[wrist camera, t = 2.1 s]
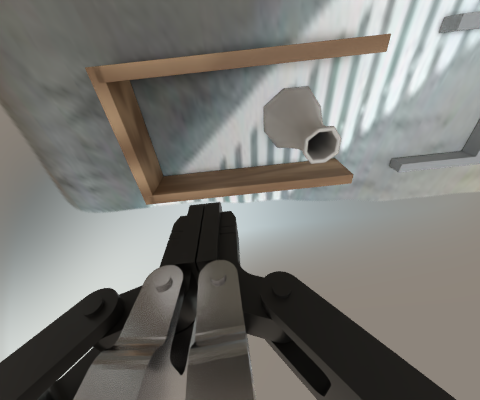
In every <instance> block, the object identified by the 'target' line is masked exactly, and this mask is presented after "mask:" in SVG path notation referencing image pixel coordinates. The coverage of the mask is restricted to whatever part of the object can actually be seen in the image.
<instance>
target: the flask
mask: <svg viewBox="0 0 480 400" xmlns="http://www.w3.org/2000/svg"><path fill="white" fill-rule="evenodd" d="M264 132H265V133H266V134H267V135H268V137H269V138H270V139H271V140H272V142H273V143H274V144H275V145H276V147H278V148H295V149H300V150H302V151H303V154H304V155H305V157H306V158H307V159H308V161H309V162H310V163H311V164H315V163H325V162H327V161H328V160H330V159H331V158H332V157H334V156H335V155H337V154H338V153H339V148H340V143H341V137H340V135H339V134H338V132H337V130H336V128H335V127H334V126H327V127H326V126H325V125H323V121H322V114H321V106H320V105H319V103H318V101H317V100H316V98H315V96H314V95H313V93H312V91H311V89H310V88H309V86H306V87H297V88H287V89H283V90H282V91H281V92H280V93H279V94H278V95H276V96H275V97H274V98H273V99H272V100H271V101H270V102H269V103H268V104H267V105H266V106H265V107H264Z"/></svg>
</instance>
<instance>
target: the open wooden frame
mask: <svg viewBox="0 0 480 400" xmlns="http://www.w3.org/2000/svg"><path fill="white" fill-rule="evenodd" d="M390 36H391V34H384V35H375V36H366V37H357V38H348V39H339V40H330V41H321V42H312V43H303V44H294V45H285V46H276V47H267V48H258V49H249V50H240V51H231V52H222V53H213V54H204V55H195V56H186V57H177V58H168V59H159V60H150V61H141V62H132V63H123V64H114V65H105V66H96V67H87V68H85V69H86V71H87V73H88V75H89V78H90V80H91V82H92V84H93V87H94V89H95V91H96V93H97V96H98V98H99V100H100V102H101V104H102V107H103V109H104V111H105V113H106V116H107V118H108V120H109V122H110V124H111V127H112V129H113V131H114V133H115V136H116V138H117V140H118V142H119V145H120V147H121V149H122V151H123V153H124V156H125V158H126V160H127V162H128V165H129V167H130V169H131V171H132V173H133V176H134V178H135V180H136V182H137V185H138V187H139V189H140V191H141V194H142V196H143V198H144V200H145V202H146V205H147V204H156V203H166V202H176V201H185V200H195V199H204V198H214V197H224V196H233V195H243V194H252V193H262V192H272V191H281V190H291V189H300V188H310V187H320V186H329V185H339V184H348V183H351V182H352V178H353V174H352V173H351V172H350V171H349V170H348V169H347V168H345V167H344V166H343V165H342V164H341V163H340V162H339V161H338V160H336V159H335V158H333V159H330V160H328V161H327V162H325V163H315V164H311V163H310V162H309V161H305V162H295V163H286V164H276V165H267V166H257V167H248V168H238V169H229V170H219V171H210V172H200V173H191V174H182V175H172V176H163V174H162V171H161V168H160V165H159V162H158V160H157V157H156V154H155V151H154V148H153V145H152V142H151V140H150V137H149V134H148V131H147V128H146V125H145V123H144V120H143V117H142V114H141V111H140V108H139V106H138V103H137V100H136V97H135V94H134V91H133V88H132V86H131V83H130V80H134V79H143V78H152V77H161V76H170V75H179V74H188V73H197V72H206V71H215V70H224V69H233V68H242V67H251V66H260V65H270V64H279V63H288V62H297V61H306V60H315V59H324V58H333V57H342V56H351V55H360V54H369V53H378V52H386V51H387V47H388V44H389V40H390Z"/></svg>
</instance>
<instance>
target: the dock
mask: <svg viewBox="0 0 480 400" xmlns="http://www.w3.org/2000/svg"><path fill="white" fill-rule="evenodd" d="M479 28H480V12H472V13H464V14H459V15H454V16H449V17H445V18H444V20H443V23H442V26H441V28H440V31H439V33H442V32H451V31H460V30H470V29H479ZM474 164H480V120H479V122H478V124H477V125H476V127H475V129H474V131H473V132H472V134H471V136H470V138H469V139H468V141H467V143H466V144H465V146H464V148H463V150H462V151H460V152H450V153H441V154H431V155H422V156H412V157H403V158H393V159H392V160H391V163H390V165H389V166H390V167H391V168H393V169H394V170H396V171H397V172H407V171H417V170H426V169H436V168H446V167H455V166H465V165H474Z"/></svg>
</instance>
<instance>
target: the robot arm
mask: <svg viewBox="0 0 480 400" xmlns="http://www.w3.org/2000/svg"><path fill="white" fill-rule="evenodd" d="M247 334H250V335H253V336H257V337H260V338H264V339H265V340H266V341H267V342H268V344H269V345H270V346H271V347H272V348H273V350H274V351H275V352H276V353H277V354H278V355H279V356H280V357H281V359H282V360H283V361H284V362H285V363H286V364H287V366H288V367H289V368H290V369H291V370H292V371H293V372H294V373H295V375H296V376H297V377H298V378H299V379H300V380H301V382H303V384H304V385H305V386H306V387H307V388H308V390H309V391H310V392H311V393H312V394H313V395H314V396H315V397H316V399H317V400H456V399H455V398H454V397H452V396H451V395H449V394H448V393H447V392H446V391H444V390H443V389H442V388H440V387H439V386H438V385H436V384H435V383H434V382H432V381H431V380H430V379H429V378H427V377H426V376H424V375H423V374H422V373H421V372H419V371H418V370H417V369H415V368H414V367H413V366H411V365H410V364H408V363H407V362H406V361H405V360H404V359H402V358H401V357H400V356H398V355H397V354H396V353H394V352H393V351H392V350H390V349H389V348H388V347H386V346H385V345H384V344H383V343H381V342H380V341H379V340H377V339H376V338H375V337H373V336H372V335H371V334H369V333H368V332H367V331H365V330H364V329H363V328H362V327H360V326H359V325H358V324H356V323H355V322H354V321H352V320H351V319H350V318H348V317H347V316H346V315H344V314H343V313H342V312H340V311H339V310H338V309H337V308H335V307H334V306H332V305H331V304H330V303H329V302H327V301H326V300H325V299H323V298H322V297H321V296H319V295H318V294H317V293H315V292H314V291H313V290H311V289H310V288H309V287H308V286H306V285H305V284H304V283H302V282H301V281H300V280H298V279H297V278H296V277H294V276H293V275H291V274H289V273H286V272H281V271H278V272H273V273H270V274H268V275H267V276H266V277H265V278H263V277H259V276H255V275H251V274H249V273H247V272H246V271H244V270H243V269H242V268H241V266H240V255H239V239H238V231H237V224H236V217H235V216H234V214H233V213H232V212H231V211H227V212H222V207H221V203H220V202H217V203H208V204H199V205H191V206H190V207H189V211H188V214H187V216H180V218H179V219H178V220H177V221H176V222H175V223H174V226H173V229H172V233H171V235H170V238H169V241H168V244H167V247H166V250H165V253H164V256H163V259H162V262H161V265H160V268H158V269H156V270H154V271H153V272H152V273H151V274H150V275H149V276H148V277H147V278H146V280H145V282H144V284H143V285H142V286H140V287H138V288H135V289H133V290H130V291H127V292H125V293H122V294H120V295H118V294H117V292H116V291H115V290H113V289H110V288H104V289H100V290H97V291H95V292H93V293H91V294H89V295H88V296H86V297H85V298H84V299H83V300H81V301H80V302H79V303H77V304H76V305H75V306H74V307H72V308H71V309H70V310H69V311H67V312H66V313H64V314H63V315H62V316H60V317H59V318H58V319H57V320H55V321H54V322H53V323H51V324H50V325H49V326H47V327H46V328H45V329H43V330H42V331H41V332H40V333H38V334H37V335H36V336H34V337H33V338H32V339H30V340H29V341H28V342H27V343H25V344H24V345H23V346H21V347H20V348H19V349H18V350H16V351H15V352H14V353H12V354H11V355H10V356H8V357H7V358H6V359H5V360H3V361H2V362H1V363H0V400H256V395H255V388H254V380H253V374H252V367H251V360H250V353H249V346H248V338H247ZM92 347H94V348H92ZM91 348H92V349H91ZM90 349H91V350H90ZM89 350H90V351H89ZM88 351H89V352H88ZM86 352H88V353H87V354H86V355H85V356H84V357H83V358H82V359H81V360H80V361H79V362H78V363H77V364H76V365H75V366H73V365H74V364H75V363H76V362H77V361H78V360H79V359H80V358H81V357H82V356H83V355H84V354H85V353H86ZM72 366H73V367H72ZM70 367H72V368H71V369H70V370H69V371H68V372H67V373H66V374H65V375H64V376H63V377H62V378H60V377H61V376H62V375H63V374H64V373H65V372H66V371H67V370H68V369H69V368H70ZM59 378H60V379H59ZM58 379H59V380H58Z"/></svg>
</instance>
